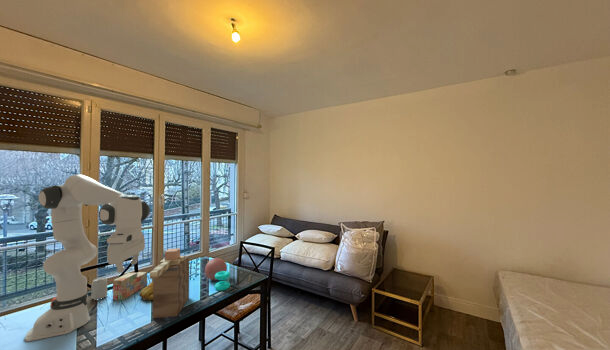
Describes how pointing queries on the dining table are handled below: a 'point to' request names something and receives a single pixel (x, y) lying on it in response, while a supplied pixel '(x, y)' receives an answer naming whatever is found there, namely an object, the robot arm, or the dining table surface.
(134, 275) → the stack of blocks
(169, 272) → the paper bag
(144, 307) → the dining table surface
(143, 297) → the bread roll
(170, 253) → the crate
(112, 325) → the dining table surface
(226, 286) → the donuts
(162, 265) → the pallet
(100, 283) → the light grey block
